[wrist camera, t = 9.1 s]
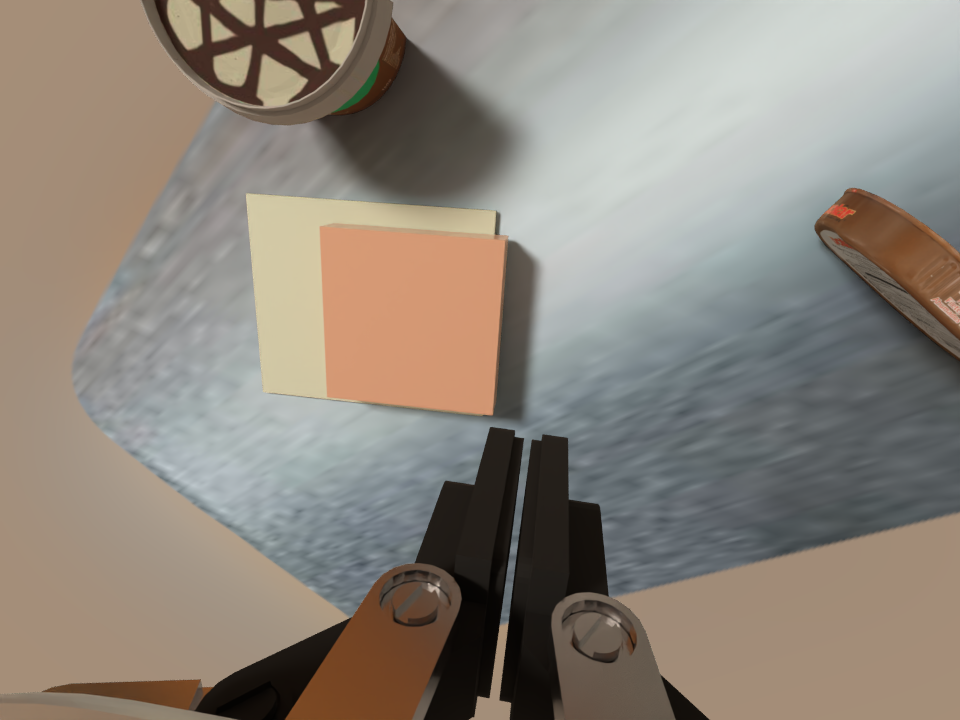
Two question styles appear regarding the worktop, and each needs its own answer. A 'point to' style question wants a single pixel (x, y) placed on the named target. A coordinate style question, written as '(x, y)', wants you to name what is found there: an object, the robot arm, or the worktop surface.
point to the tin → (898, 262)
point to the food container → (282, 53)
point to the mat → (318, 277)
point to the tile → (413, 315)
